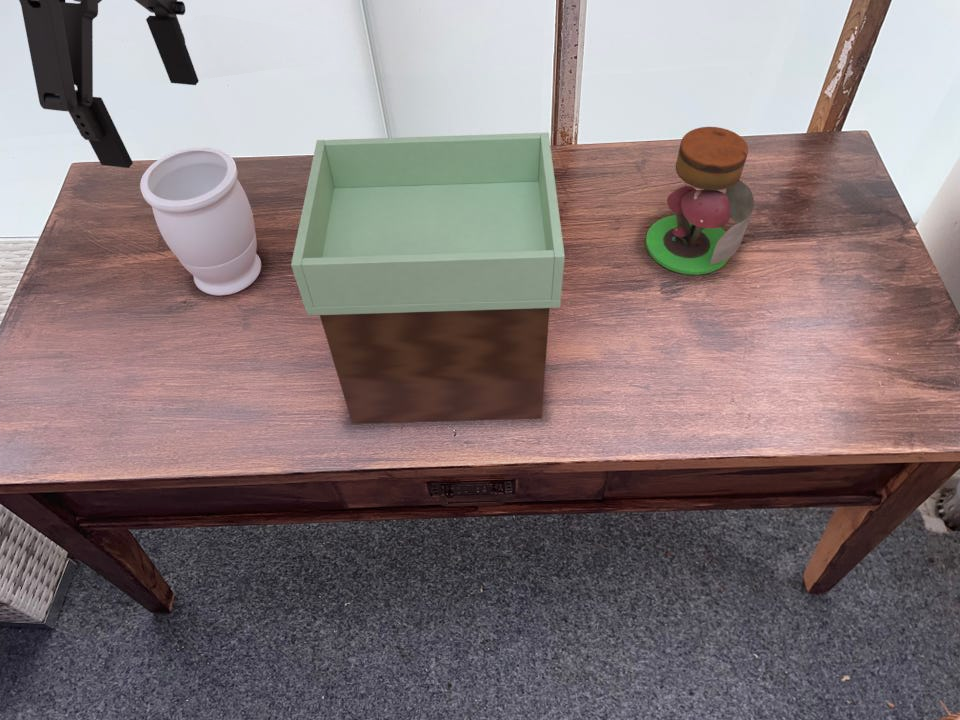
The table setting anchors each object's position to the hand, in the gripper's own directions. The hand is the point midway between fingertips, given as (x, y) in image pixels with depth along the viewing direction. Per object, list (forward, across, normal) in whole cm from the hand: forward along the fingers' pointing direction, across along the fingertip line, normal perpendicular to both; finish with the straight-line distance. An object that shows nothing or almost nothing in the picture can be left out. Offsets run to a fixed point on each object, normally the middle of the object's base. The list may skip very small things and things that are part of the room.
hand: (153, 121), depth 69 cm
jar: (+25, +4, +2) cm, 25 cm away
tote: (+7, -5, -29) cm, 30 cm away
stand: (+24, -6, -29) cm, 38 cm away
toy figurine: (+25, +18, -54) cm, 63 cm away
